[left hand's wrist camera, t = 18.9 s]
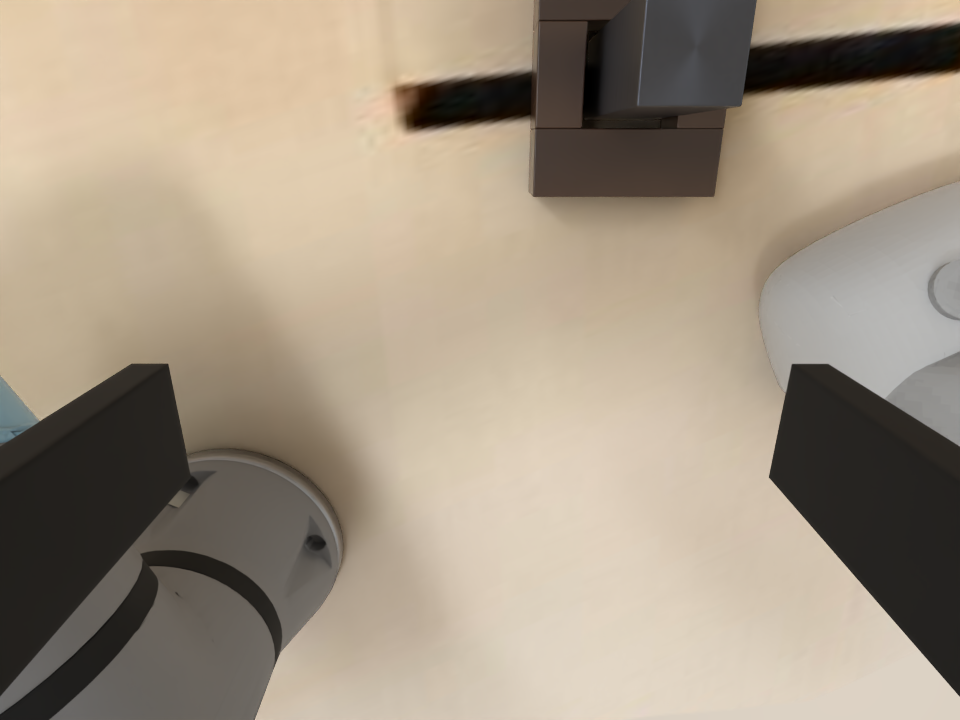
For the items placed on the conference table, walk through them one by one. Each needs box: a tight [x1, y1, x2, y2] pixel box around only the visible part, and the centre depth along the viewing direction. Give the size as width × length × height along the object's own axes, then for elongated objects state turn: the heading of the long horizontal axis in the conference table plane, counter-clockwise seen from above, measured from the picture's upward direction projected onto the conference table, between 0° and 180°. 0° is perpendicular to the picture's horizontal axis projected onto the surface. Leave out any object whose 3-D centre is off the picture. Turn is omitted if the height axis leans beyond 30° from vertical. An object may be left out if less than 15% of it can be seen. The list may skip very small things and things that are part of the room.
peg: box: [584, 0, 757, 120], centre depth 27 cm, size 4×4×12 cm
